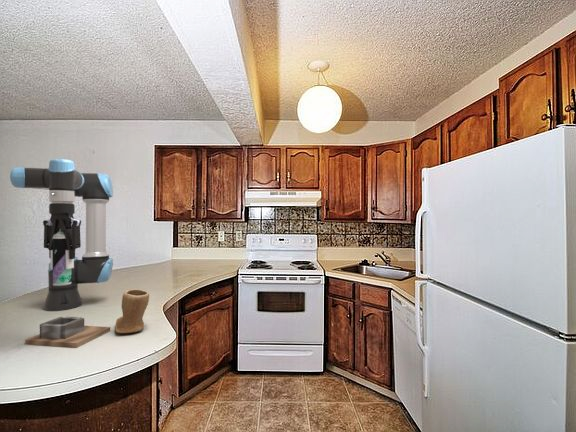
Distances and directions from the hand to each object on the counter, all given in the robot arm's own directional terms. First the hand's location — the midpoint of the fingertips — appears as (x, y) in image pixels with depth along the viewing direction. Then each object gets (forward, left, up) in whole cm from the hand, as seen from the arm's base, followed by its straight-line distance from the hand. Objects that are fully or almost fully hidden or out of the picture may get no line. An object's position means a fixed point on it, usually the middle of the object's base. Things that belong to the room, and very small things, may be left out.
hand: (62, 268), depth 118 cm
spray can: (0, 0, -6) cm, 6 cm away
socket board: (+2, +1, -25) cm, 25 cm away
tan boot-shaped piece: (+18, +13, -25) cm, 34 cm away
